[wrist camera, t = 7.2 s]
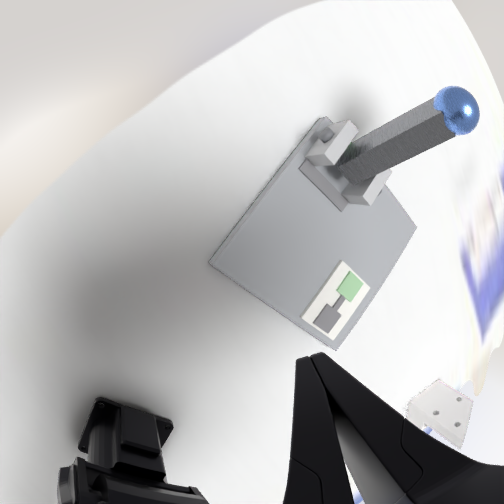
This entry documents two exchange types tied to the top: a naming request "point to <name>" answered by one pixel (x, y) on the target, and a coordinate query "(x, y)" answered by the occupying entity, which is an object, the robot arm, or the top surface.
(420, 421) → the grey plate
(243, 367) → the top surface
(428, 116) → the lever
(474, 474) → the robot arm
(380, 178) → the switch panel
